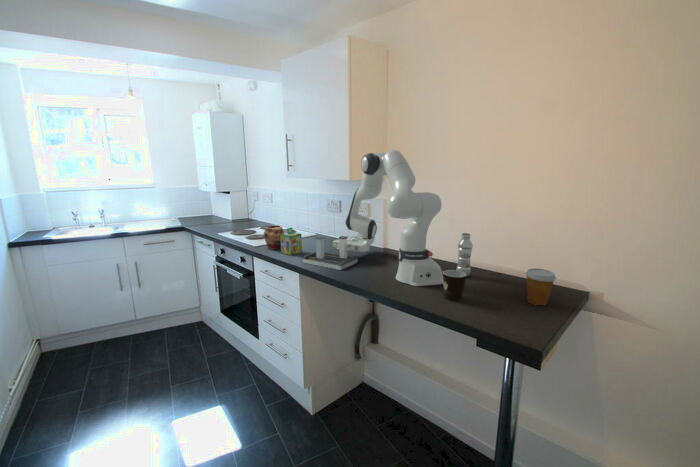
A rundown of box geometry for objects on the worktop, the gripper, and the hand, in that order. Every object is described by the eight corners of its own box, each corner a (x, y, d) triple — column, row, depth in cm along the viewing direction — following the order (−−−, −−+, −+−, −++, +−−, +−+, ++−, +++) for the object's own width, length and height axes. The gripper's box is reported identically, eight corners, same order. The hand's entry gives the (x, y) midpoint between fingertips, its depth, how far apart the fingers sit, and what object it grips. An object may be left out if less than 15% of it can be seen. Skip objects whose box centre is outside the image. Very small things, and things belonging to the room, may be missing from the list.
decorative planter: (258, 246, 203) (256, 225, 200) (274, 243, 211) (273, 222, 208) (273, 252, 189) (272, 229, 186) (291, 248, 197) (290, 226, 194)
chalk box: (291, 255, 182) (290, 230, 179) (280, 253, 187) (279, 228, 184) (302, 252, 189) (301, 227, 186) (291, 250, 194) (290, 226, 191)
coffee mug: (466, 303, 118) (468, 277, 116) (442, 301, 120) (443, 276, 118) (461, 291, 129) (463, 268, 127) (439, 290, 131) (441, 266, 129)
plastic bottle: (469, 274, 150) (473, 233, 146) (470, 278, 144) (474, 236, 140) (455, 272, 152) (458, 232, 148) (456, 277, 146) (459, 235, 142)
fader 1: (324, 258, 168) (324, 236, 166) (321, 260, 165) (320, 237, 163) (319, 257, 170) (319, 236, 167) (315, 259, 167) (315, 237, 165)
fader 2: (347, 258, 169) (347, 236, 166) (344, 259, 166) (344, 237, 163) (342, 257, 170) (342, 235, 168) (339, 258, 168) (338, 236, 165)
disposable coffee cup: (554, 302, 119) (558, 271, 117) (548, 310, 112) (553, 278, 110) (526, 295, 126) (529, 266, 123) (519, 302, 119) (523, 272, 116)
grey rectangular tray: (357, 262, 169) (357, 255, 168) (340, 270, 156) (340, 263, 155) (321, 255, 182) (321, 249, 181) (303, 262, 168) (303, 256, 168)
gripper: (340, 235, 182) (326, 240, 171) (372, 239, 172) (359, 244, 160) (340, 246, 184) (326, 251, 172) (371, 251, 173) (359, 256, 162)
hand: (342, 248), depth 166 cm, fingers open, 5 cm apart
